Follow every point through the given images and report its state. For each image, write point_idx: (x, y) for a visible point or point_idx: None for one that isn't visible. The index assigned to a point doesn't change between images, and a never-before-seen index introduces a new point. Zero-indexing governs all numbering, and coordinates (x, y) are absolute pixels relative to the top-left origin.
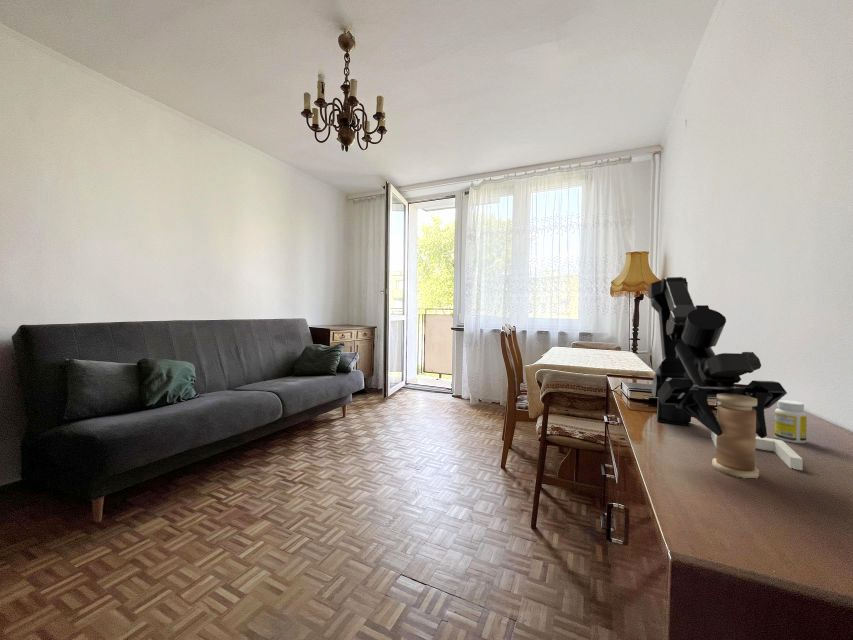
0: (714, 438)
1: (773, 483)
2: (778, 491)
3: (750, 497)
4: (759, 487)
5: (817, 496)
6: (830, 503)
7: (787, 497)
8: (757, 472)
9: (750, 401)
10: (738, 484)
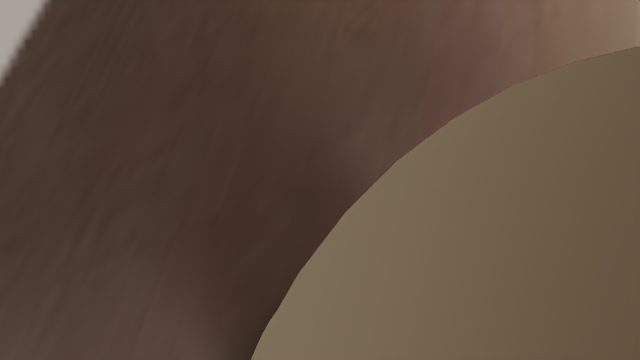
0: None
1: (208, 276)
2: (226, 158)
3: (385, 5)
4: (306, 164)
5: (45, 196)
6: (27, 129)
7: (211, 97)
8: (273, 316)
9: (480, 116)
10: (402, 148)
